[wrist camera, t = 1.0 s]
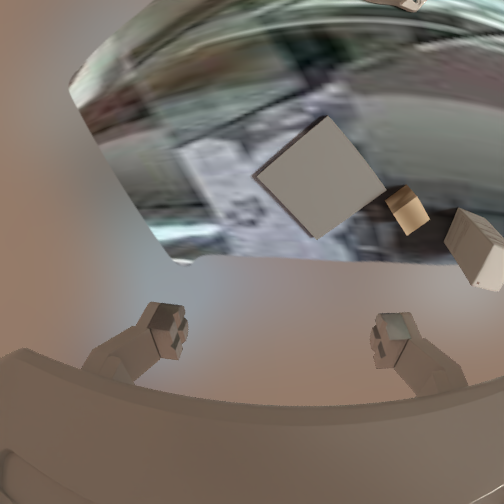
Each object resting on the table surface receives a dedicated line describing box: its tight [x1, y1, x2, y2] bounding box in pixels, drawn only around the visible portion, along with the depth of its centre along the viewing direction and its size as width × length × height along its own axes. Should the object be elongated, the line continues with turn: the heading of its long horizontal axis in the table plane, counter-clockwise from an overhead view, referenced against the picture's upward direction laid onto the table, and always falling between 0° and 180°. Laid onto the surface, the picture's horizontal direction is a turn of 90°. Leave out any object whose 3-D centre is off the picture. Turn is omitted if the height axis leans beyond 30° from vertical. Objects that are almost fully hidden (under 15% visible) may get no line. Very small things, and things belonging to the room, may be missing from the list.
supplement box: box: [444, 208, 504, 292], centre depth 33 cm, size 7×7×13 cm
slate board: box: [257, 115, 386, 240], centre depth 39 cm, size 14×14×1 cm
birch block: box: [385, 185, 430, 235], centre depth 37 cm, size 4×4×5 cm
